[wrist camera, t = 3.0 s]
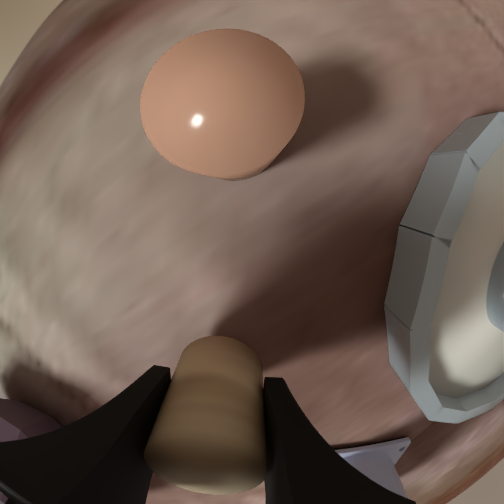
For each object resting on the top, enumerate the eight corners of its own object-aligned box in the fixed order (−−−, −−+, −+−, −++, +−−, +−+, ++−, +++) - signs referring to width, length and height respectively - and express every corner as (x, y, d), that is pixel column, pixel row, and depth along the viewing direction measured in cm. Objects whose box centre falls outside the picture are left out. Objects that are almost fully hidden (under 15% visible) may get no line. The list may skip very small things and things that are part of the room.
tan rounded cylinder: (258, 402, 11) (260, 497, 6) (181, 394, 11) (154, 484, 6) (266, 339, 10) (274, 443, 5) (177, 331, 10) (132, 425, 5)
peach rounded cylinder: (277, 183, 10) (299, 182, 5) (186, 178, 10) (132, 174, 5) (283, 98, 9) (307, 35, 4) (194, 94, 9) (154, 33, 4)
